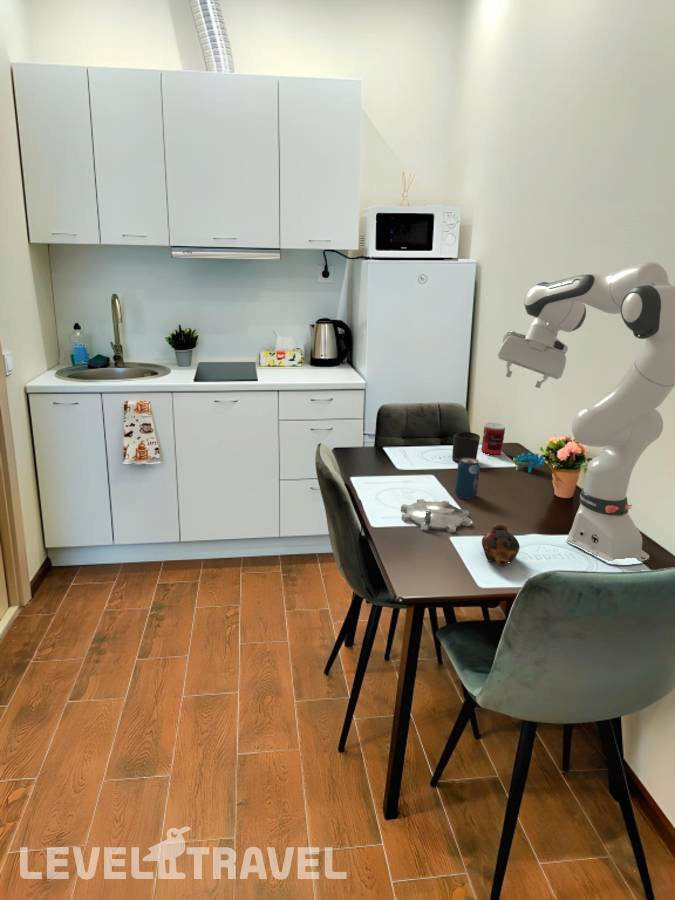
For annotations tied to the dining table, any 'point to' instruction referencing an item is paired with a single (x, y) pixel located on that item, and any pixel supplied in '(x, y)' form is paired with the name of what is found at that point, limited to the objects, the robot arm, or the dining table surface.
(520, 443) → the dining table surface
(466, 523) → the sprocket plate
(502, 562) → the decorative turtle
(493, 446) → the canned food
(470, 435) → the pen holder
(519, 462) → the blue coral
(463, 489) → the soda can
